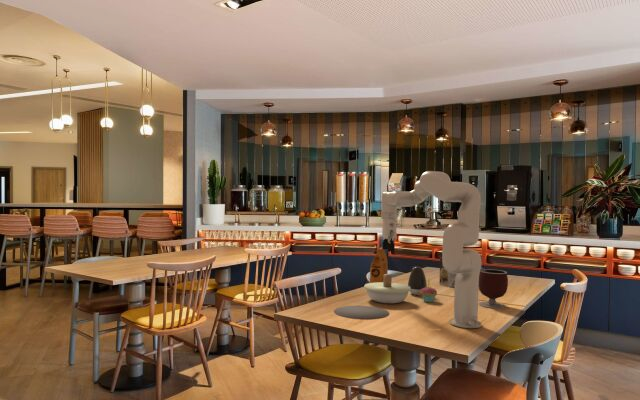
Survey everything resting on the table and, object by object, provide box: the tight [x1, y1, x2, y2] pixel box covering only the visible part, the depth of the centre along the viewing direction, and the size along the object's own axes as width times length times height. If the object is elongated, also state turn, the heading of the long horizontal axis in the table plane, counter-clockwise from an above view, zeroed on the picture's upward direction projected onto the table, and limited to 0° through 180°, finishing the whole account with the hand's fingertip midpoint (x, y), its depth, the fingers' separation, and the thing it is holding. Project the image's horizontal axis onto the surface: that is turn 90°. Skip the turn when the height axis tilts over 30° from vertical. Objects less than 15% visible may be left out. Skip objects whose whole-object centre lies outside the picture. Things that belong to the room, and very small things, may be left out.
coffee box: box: [438, 257, 457, 288], centre depth 280 cm, size 9×6×16 cm
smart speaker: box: [407, 266, 428, 296], centre depth 253 cm, size 10×10×15 cm
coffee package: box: [369, 246, 389, 283], centre depth 278 cm, size 10×12×22 cm
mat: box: [333, 305, 390, 321], centre depth 208 cm, size 25×25×1 cm
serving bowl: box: [366, 290, 409, 304], centre depth 232 cm, size 21×21×7 cm
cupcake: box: [420, 279, 438, 303], centre depth 236 cm, size 9×8×12 cm
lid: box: [363, 273, 411, 293], centre depth 232 cm, size 23×23×7 cm
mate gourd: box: [478, 266, 509, 310], centre depth 229 cm, size 16×14×20 cm
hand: (388, 250), depth 232 cm, fingers open, 9 cm apart
